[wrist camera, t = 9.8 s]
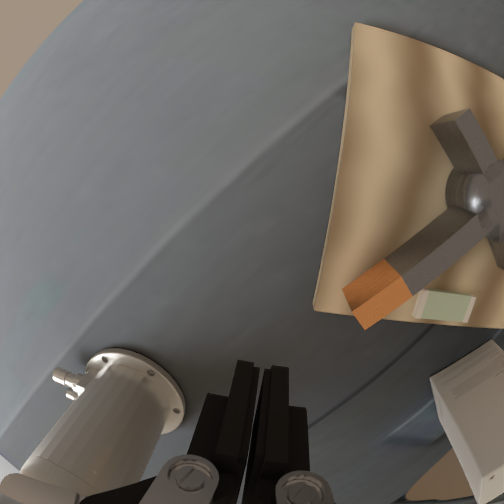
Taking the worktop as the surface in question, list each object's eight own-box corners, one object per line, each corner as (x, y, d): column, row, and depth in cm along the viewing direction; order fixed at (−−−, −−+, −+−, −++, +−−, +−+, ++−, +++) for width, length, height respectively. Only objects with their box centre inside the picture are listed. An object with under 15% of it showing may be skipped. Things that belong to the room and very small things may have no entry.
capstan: (384, 349, 25) (399, 381, 21) (294, 223, 23) (297, 237, 19) (539, 216, 20) (569, 227, 16) (480, 85, 18) (511, 75, 14)
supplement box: (437, 420, 29) (476, 510, 15) (427, 376, 28) (481, 479, 13) (495, 385, 27) (548, 462, 13) (493, 336, 26) (565, 416, 11)
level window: (412, 314, 24) (414, 318, 24) (420, 287, 24) (423, 290, 23) (464, 319, 24) (467, 322, 23) (472, 294, 23) (476, 297, 23)
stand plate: (312, 303, 26) (314, 311, 25) (351, 29, 20) (355, 21, 18) (509, 323, 25) (517, 330, 23) (548, 114, 18) (557, 113, 17)
